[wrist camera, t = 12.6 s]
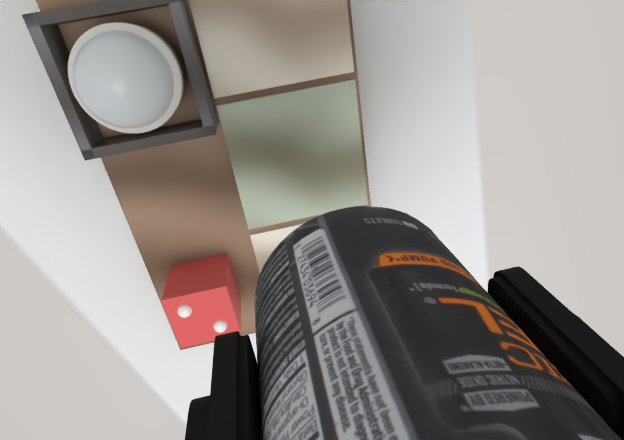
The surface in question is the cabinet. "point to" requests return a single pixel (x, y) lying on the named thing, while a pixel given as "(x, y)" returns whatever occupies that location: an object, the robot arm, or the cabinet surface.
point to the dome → (126, 76)
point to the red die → (202, 300)
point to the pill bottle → (397, 343)
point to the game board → (226, 127)
